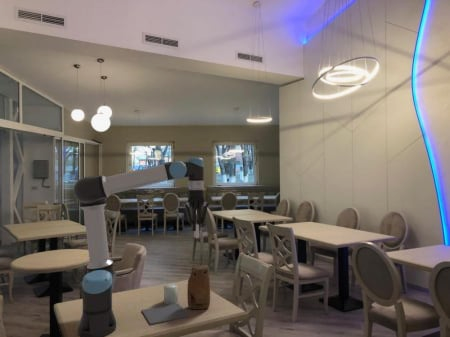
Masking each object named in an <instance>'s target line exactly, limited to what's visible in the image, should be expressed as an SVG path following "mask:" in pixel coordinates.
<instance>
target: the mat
mask: <svg viewBox="0 0 450 337" xmlns="http://www.w3.org/2000/svg"><path fill="white" fill-rule="evenodd" d="M141 312H142V314H143V315H144V318H145V319H146V321H147V322H148V323H149V325H150V326H152V325H153V326H154V325H157V324H161V323H167V322H172V321H175V320H180V319H186V318H189V317H190V315H189V314H188V313H187V311H186V310H185V309H184V308H183V307H182V306H181V305H180V304H179V303H178V302H177V303H175V304H165V305H161V306H156V307H150V308H146V309H141Z"/></svg>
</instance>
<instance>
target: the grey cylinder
mask: <svg viewBox="0 0 450 337" xmlns="http://www.w3.org/2000/svg"><path fill="white" fill-rule="evenodd" d="M178 289H179V286H178V284H176V283H167V284H165V285H163V303H164V304H165V305H171V304H176V303H178V300H179V294H178V291H179V290H178Z"/></svg>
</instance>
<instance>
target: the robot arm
mask: <svg viewBox="0 0 450 337" xmlns="http://www.w3.org/2000/svg"><path fill="white" fill-rule="evenodd" d="M204 166H205V164H204V159H203V158H202V157H188V158H187V161H181V160H175V161H165V162H163V164H158V165H155V166H151V167H146V168H145V167H144V168H142V169H136V170H131V171H128V172H123V173H117V174H113V175H109V176H105V175H98V176H95V175H89V176H88V175H87V176H85V177H81V178H79V179H78V180H77V181H76V182H75V184H74V186H73V189H72V190H73V191H72V192H73V195H74V197H75V199H76V200H78V204H79V208H80V209H81V210H82V211H83V216H84V217H83V218H84V224H85V233H86V240H87V249H88V250H87V251H88V252H87V253H88V259H89V262H88V264H87V265H86V272H87V273H86V274H85V275H84V277H83V278H82V281H81V282H82V284H81V287H82V313H81V317H80V321H79V323H78V326H77V335H78V336H80V337H106V336H108V335H110V334H112V333H113V332H115V330H116V329H117V320H116V319H117V318H116V317H115V314H114V311H113V291H114V290H113V289H114V286H115V284H116V282H117V281H116V280H117V272H116V270H115V266H114V265H115V264H114V261H113V259H110V253H109V243H108V242H109V241H108V235H107V234H108V233H107V224H106V216H105V207H106V205H107V198H109V197H110V196H111V195H113V194H116V193H117V194H118V193H121V192H125V191H129V190H133V189H139V188H143V187H147V186H151V185H154V184H160V183H163V182H167V181H173V180H176V179H177V180H179V179H182V178H187V179H188V180H187V181H188V183H187V184H188V185H187V186H188V187H187V188H188V189H189V190H188V193H187V194H188V199H187V202H186V203H183V205H182V206H183V207H184V209H185V212H186V213H185V214H186V217H187V221H188V224H191V228H192V231H193V238H195V239H200V231H201V228H202V227H201V225H202V224H203V223H205V221H206V220H205V219H206V216H207V210H208V207H209V206H210V203H209V202H207V201H205V198H204V197H205V191H204V188H205V187H204V185H205V184H204V183H205V181H204V180H205V179H204V178H205V176H204V175H205V173H204V172H205V167H204ZM190 207H191V210H190Z"/></svg>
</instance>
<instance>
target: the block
mask: <svg viewBox="0 0 450 337" xmlns="http://www.w3.org/2000/svg"><path fill="white" fill-rule="evenodd" d="M210 277H211V276H210V268H209V265H207V264H202V265H201V264H196V265H192V267H191V271H190V276H189V278H188V281H187V288H186V289H187V290H186V291H187V306H188V308H189V309H192V310H205V309H208V308H210V305H211V278H210Z"/></svg>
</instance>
